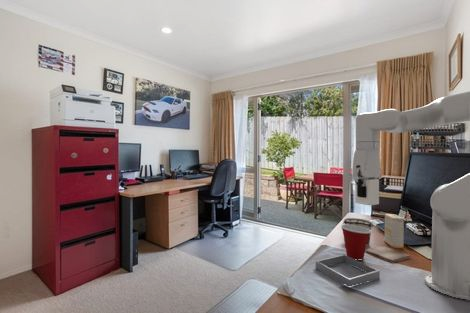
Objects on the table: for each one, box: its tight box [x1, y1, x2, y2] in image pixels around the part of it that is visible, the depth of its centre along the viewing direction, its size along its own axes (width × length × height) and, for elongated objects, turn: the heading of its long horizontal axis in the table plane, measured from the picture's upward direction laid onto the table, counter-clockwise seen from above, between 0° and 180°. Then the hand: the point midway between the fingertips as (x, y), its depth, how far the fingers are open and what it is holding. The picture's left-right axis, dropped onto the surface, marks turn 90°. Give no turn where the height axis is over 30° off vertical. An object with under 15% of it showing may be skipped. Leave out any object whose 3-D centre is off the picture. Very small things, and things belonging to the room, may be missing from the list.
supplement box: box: [384, 213, 405, 249], centre depth 109 cm, size 8×5×13 cm, turn 168°
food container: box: [342, 217, 374, 246], centre depth 113 cm, size 12×6×10 cm, turn 65°
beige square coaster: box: [365, 245, 411, 264], centre depth 97 cm, size 11×11×1 cm
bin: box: [315, 254, 381, 287], centre depth 82 cm, size 14×14×2 cm
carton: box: [354, 178, 380, 206], centre depth 89 cm, size 6×6×9 cm
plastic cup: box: [340, 223, 372, 260], centre depth 95 cm, size 11×11×12 cm
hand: (367, 195), depth 88 cm, fingers closed on carton, 5 cm apart
